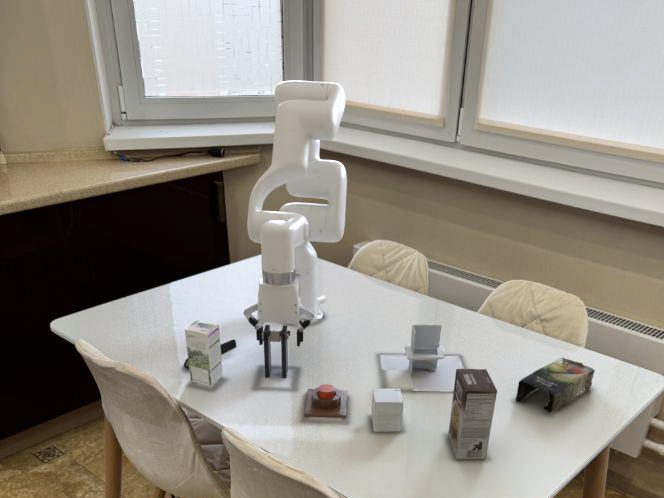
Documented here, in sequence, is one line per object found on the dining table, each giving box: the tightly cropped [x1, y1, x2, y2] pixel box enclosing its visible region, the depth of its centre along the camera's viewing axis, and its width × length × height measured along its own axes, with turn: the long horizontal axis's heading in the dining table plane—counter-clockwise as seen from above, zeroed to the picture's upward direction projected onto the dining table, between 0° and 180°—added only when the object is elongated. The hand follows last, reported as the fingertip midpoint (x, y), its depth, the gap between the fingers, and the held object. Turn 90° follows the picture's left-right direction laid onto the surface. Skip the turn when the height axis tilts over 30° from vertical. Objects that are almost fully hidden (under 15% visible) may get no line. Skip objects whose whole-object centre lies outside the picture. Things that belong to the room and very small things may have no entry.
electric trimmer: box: [183, 338, 237, 371], centre depth 171 cm, size 4×16×3 cm, turn 142°
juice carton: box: [515, 356, 595, 414], centre depth 162 cm, size 20×10×6 cm, turn 136°
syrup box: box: [184, 320, 224, 387], centre depth 158 cm, size 6×6×14 cm
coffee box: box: [448, 368, 498, 460], centre depth 139 cm, size 9×6×16 cm
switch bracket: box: [262, 324, 290, 379], centre depth 162 cm, size 11×9×13 cm
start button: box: [317, 383, 336, 398], centre depth 152 cm, size 4×4×2 cm
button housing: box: [303, 387, 348, 419], centre depth 153 cm, size 11×9×4 cm
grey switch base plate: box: [379, 324, 465, 393], centre depth 167 cm, size 19×21×12 cm
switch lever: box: [270, 329, 291, 343], centre depth 164 cm, size 12×5×2 cm, turn 0°
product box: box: [370, 388, 405, 433], centre depth 148 cm, size 6×6×7 cm
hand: (280, 343), depth 170 cm, fingers open, 8 cm apart
